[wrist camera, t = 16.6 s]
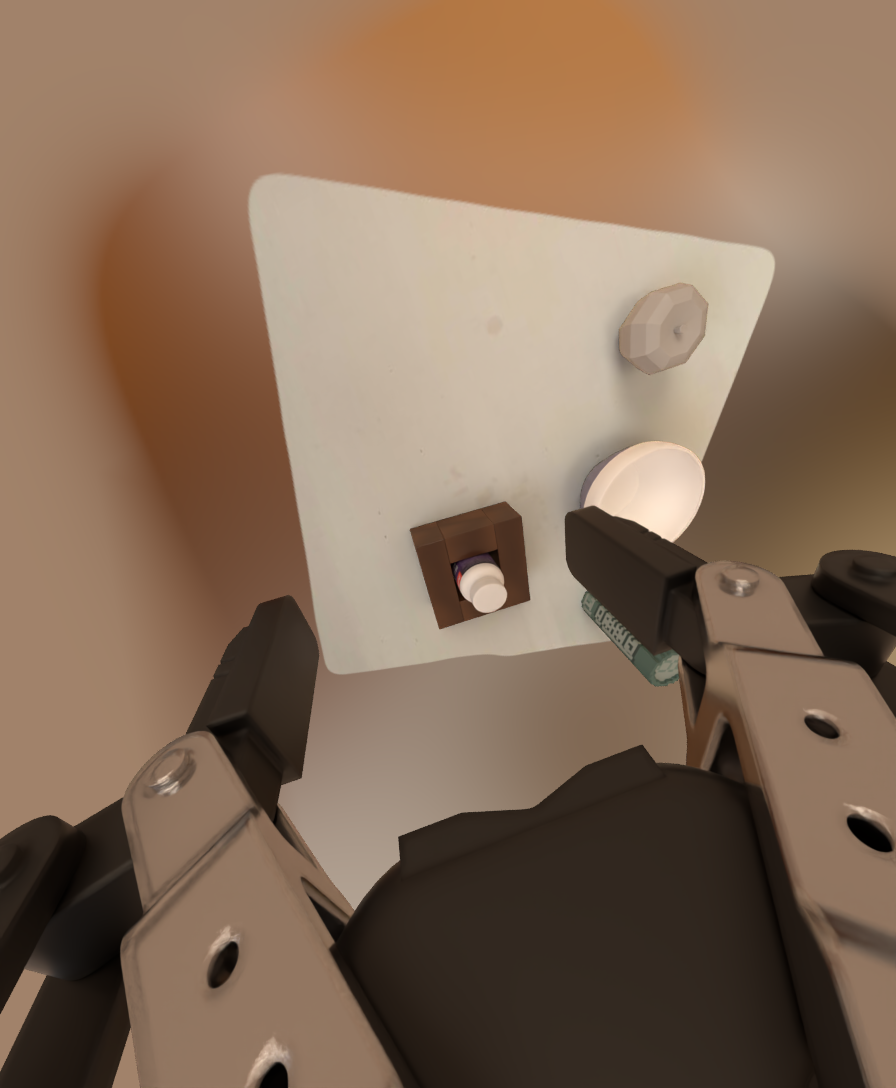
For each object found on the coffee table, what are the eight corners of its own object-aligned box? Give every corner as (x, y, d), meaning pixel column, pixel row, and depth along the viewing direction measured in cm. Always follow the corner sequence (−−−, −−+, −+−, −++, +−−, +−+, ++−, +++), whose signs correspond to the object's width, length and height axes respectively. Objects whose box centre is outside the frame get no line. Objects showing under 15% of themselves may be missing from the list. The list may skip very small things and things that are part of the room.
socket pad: (432, 606, 48) (439, 629, 44) (409, 528, 42) (415, 547, 38) (515, 580, 50) (530, 600, 45) (505, 501, 43) (521, 516, 39)
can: (607, 613, 57) (679, 685, 44) (576, 612, 56) (642, 687, 43) (622, 582, 55) (702, 649, 42) (590, 580, 53) (665, 650, 40)
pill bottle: (440, 550, 44) (459, 593, 36) (476, 531, 44) (503, 569, 36) (457, 579, 47) (478, 625, 39) (491, 561, 47) (519, 603, 39)
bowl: (582, 554, 50) (615, 582, 44) (542, 478, 43) (575, 498, 36) (667, 496, 49) (715, 516, 42) (641, 407, 42) (694, 415, 35)
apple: (592, 369, 38) (633, 369, 32) (616, 283, 35) (666, 267, 29) (650, 378, 40) (698, 380, 34) (678, 298, 37) (736, 286, 31)
